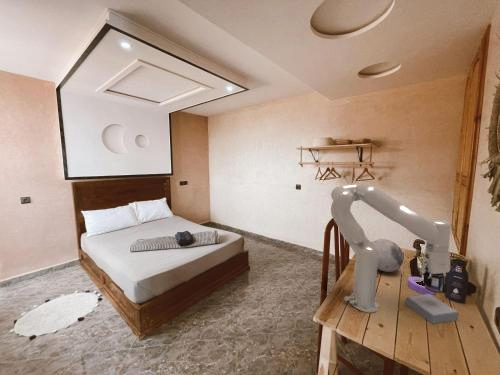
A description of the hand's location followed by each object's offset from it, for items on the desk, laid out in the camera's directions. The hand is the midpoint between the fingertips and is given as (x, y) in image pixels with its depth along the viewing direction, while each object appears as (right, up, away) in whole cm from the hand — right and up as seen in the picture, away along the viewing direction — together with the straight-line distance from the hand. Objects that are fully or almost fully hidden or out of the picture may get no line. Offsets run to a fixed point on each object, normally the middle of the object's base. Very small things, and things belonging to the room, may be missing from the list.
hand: (433, 284), depth 95 cm
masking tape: (+10, -12, +19) cm, 25 cm away
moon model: (+2, -9, +39) cm, 40 cm away
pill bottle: (0, -3, 0) cm, 3 cm away
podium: (0, -14, +2) cm, 14 cm away
